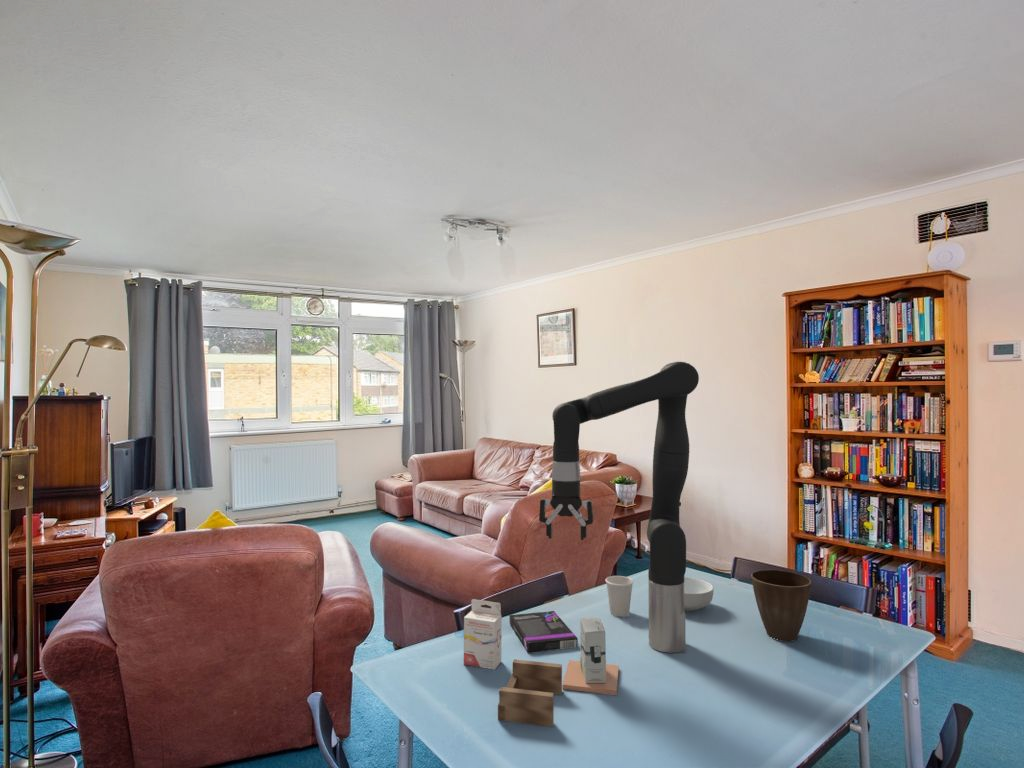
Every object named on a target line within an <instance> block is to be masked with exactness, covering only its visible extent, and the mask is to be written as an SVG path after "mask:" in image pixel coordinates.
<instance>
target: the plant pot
mask: <svg viewBox="0 0 1024 768" xmlns="http://www.w3.org/2000/svg"><path fill="white" fill-rule="evenodd" d="M750 578H751V582H752V583H751V584H752V589H753V593H754V598H755V602H756V606H757V608H758V612H759V616H760V619H761V621H762V624H763V626H764V629H765V632H766V634H767V636H768V635H769V636H768V637H769V638H771V637H772V638H771V639H773V638H775V639H774V640H776V639H778V640H777V641H779V640H782V641H781V642H794V641H796V640H797V638H798V636H799V634H800V633H801V629H802V627H803V626H802V625H803V623H804V620H805V617H806V613H807V609H808V606H809V605H808V604H809V600H810V593H811V587H812V585H811V584H812V581H811V579H810V578H809V577H808V576H805V575H802V574H801V573H797V572H794V571H793V572H792V571H789V570H781V569H780V570H779V569H760V570H755V571H753V572H752V573H751V577H750ZM793 640H794V641H793Z"/></svg>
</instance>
